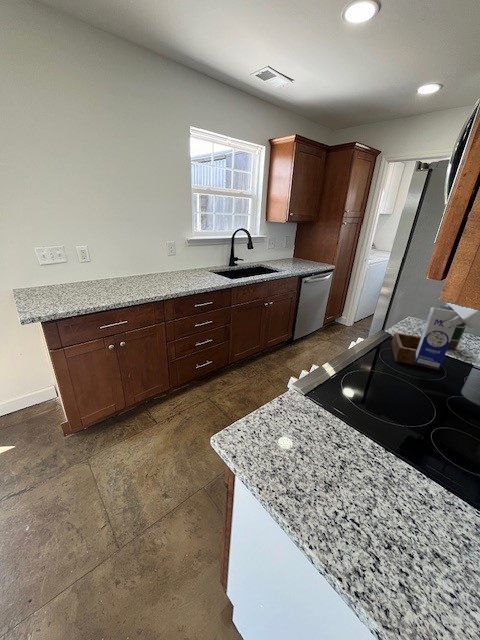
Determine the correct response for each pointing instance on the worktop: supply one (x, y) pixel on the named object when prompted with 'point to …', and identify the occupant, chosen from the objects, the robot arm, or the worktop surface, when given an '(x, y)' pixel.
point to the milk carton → (435, 337)
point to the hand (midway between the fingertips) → (439, 320)
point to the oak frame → (406, 348)
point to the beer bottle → (456, 336)
